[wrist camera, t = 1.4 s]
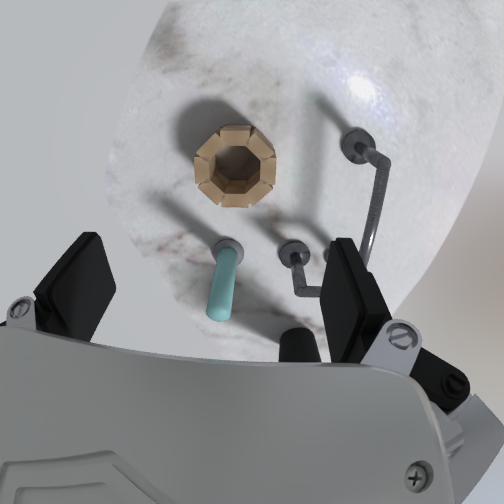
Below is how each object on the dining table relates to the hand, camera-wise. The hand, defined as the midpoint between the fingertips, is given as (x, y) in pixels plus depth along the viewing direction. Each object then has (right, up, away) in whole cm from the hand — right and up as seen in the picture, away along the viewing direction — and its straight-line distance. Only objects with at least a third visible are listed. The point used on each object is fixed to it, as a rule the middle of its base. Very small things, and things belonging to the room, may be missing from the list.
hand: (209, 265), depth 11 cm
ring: (0, +9, +13) cm, 16 cm away
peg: (-1, 0, +19) cm, 19 cm away
